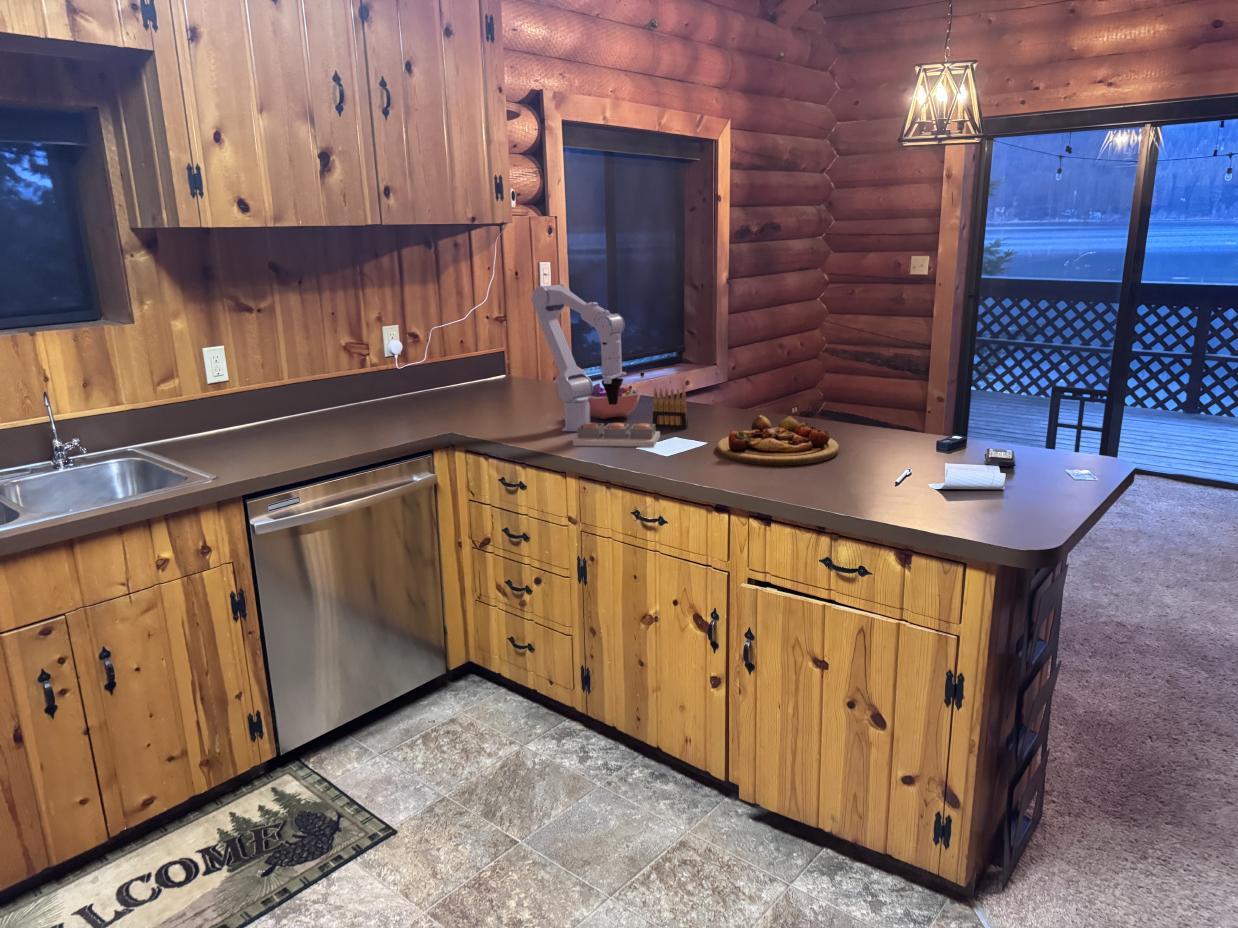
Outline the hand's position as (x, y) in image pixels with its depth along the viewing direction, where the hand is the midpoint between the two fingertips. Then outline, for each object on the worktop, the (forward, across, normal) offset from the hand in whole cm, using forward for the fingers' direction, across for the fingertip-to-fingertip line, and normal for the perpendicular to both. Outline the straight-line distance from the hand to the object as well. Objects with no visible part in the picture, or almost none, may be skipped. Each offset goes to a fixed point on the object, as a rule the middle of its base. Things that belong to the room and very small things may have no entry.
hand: (613, 404), depth 248 cm
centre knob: (+8, -6, -2) cm, 10 cm away
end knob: (+8, -6, +6) cm, 11 cm away
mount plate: (+9, -6, -2) cm, 11 cm away
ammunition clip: (+10, +11, -15) cm, 21 cm away
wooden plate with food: (+10, -14, -47) cm, 50 cm away
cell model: (+10, +24, +6) cm, 27 cm away
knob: (+8, -6, -10) cm, 14 cm away
